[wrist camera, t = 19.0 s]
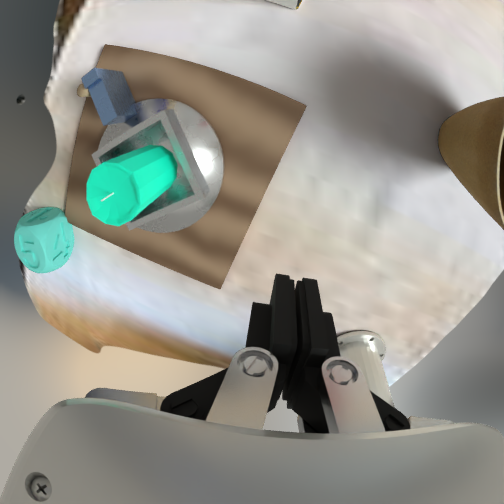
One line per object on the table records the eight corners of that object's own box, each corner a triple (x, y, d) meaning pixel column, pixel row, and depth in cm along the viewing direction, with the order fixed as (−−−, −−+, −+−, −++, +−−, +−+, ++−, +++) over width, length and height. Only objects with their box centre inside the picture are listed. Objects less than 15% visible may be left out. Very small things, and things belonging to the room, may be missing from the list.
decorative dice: (71, 207, 37) (39, 228, 30) (78, 252, 41) (51, 277, 34) (39, 205, 37) (8, 224, 30) (47, 246, 41) (20, 269, 34)
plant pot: (462, 212, 33) (529, 267, 18) (396, 149, 30) (472, 184, 16) (504, 138, 26) (579, 167, 12) (445, 67, 23) (529, 61, 9)
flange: (246, 203, 34) (241, 223, 28) (135, 246, 38) (115, 269, 32) (175, 40, 25) (154, 28, 19) (70, 110, 29) (40, 115, 23)
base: (221, 285, 41) (212, 316, 35) (68, 218, 38) (41, 237, 32) (305, 105, 29) (314, 104, 23) (108, 45, 25) (78, 37, 19)
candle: (153, 201, 33) (105, 245, 23) (124, 165, 31) (65, 196, 21) (188, 172, 31) (145, 206, 21) (157, 134, 29) (100, 150, 19)
